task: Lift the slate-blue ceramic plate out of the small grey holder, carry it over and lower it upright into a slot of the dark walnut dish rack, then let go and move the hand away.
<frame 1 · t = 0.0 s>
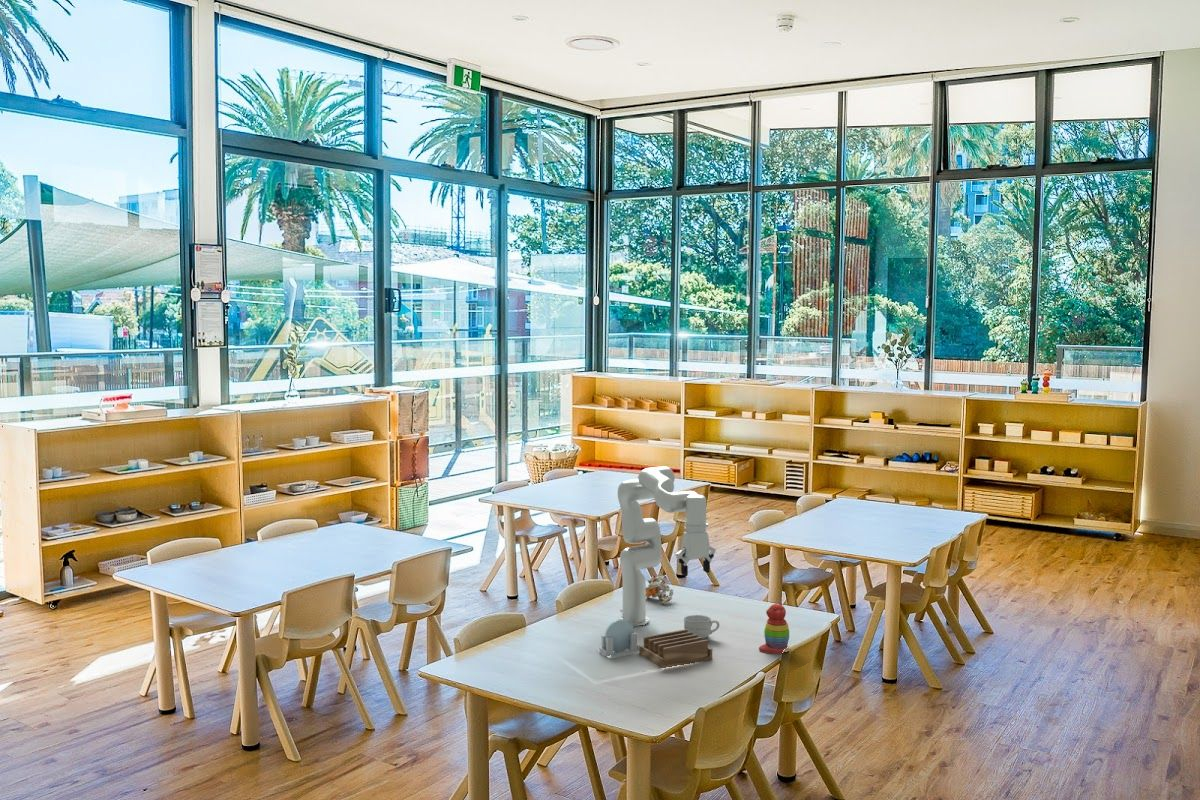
hand: (695, 573, 378), 31 cm above the table, tool pointing down, fingers open, 9 cm apart
plate: (619, 651, 383), point 1 cm above the table, touching holder
teacup: (701, 638, 401), on the table
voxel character: (656, 602, 449), on the table
rack: (675, 657, 378), on the table
holder: (619, 653, 383), on the table
stacking bear: (775, 650, 387), on the table
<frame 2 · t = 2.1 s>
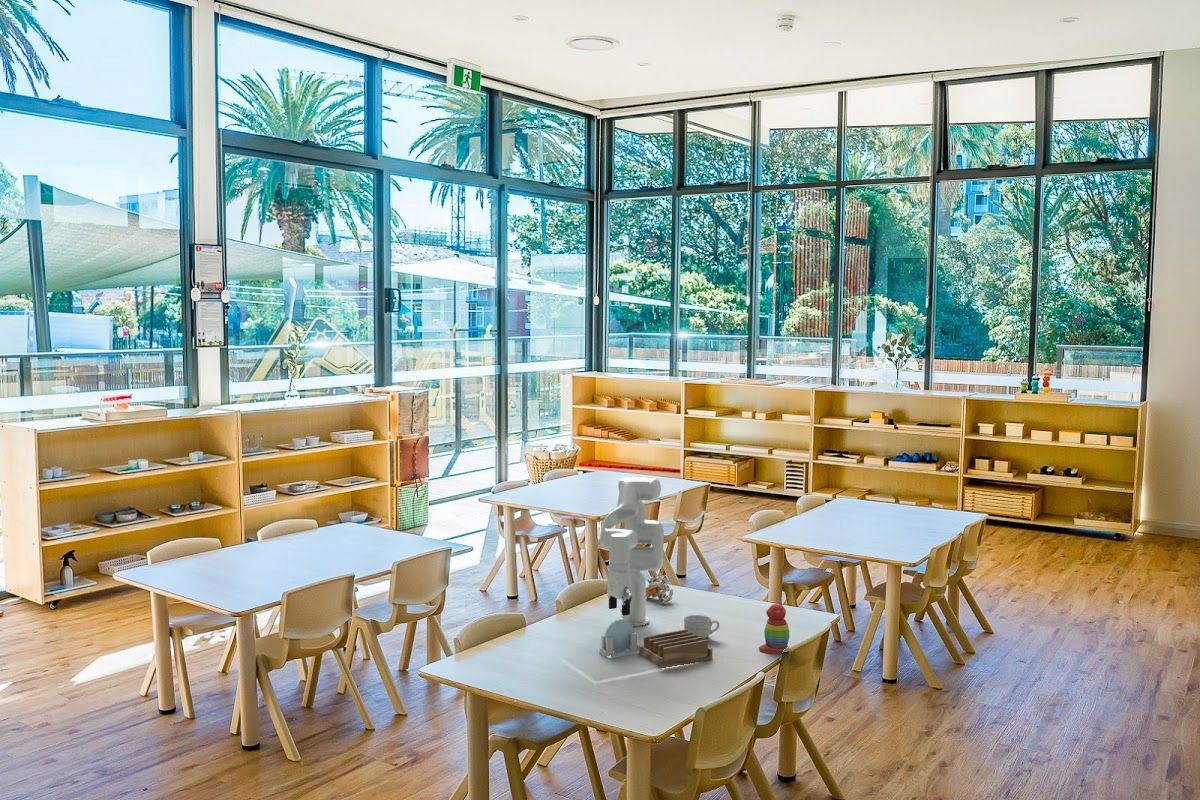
hand: (619, 611, 381), 16 cm above the table, tool pointing down, fingers open, 9 cm apart
nothing on the table moved.
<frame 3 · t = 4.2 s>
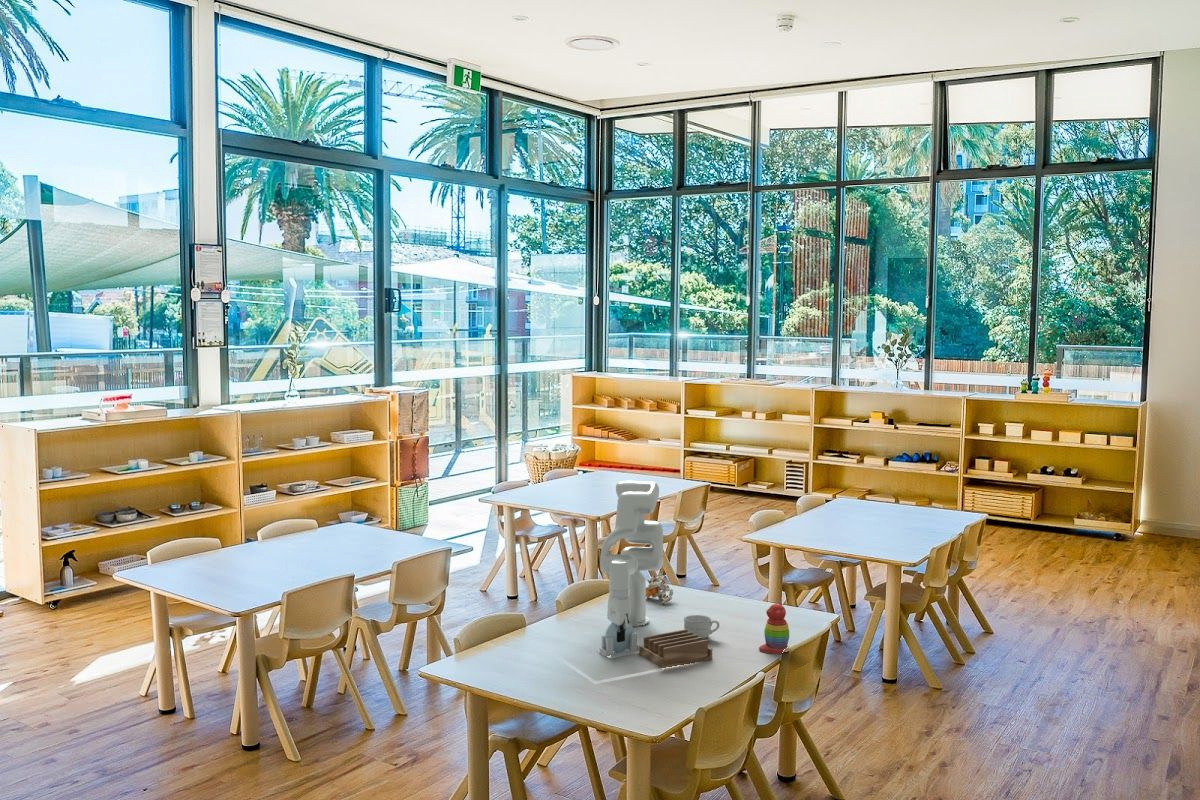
hand: (619, 640, 382), 5 cm above the table, tool pointing down, fingers closed on plate, 1 cm apart
plate: (619, 651, 383), point 1 cm above the table, touching gripper
everything else where it was.
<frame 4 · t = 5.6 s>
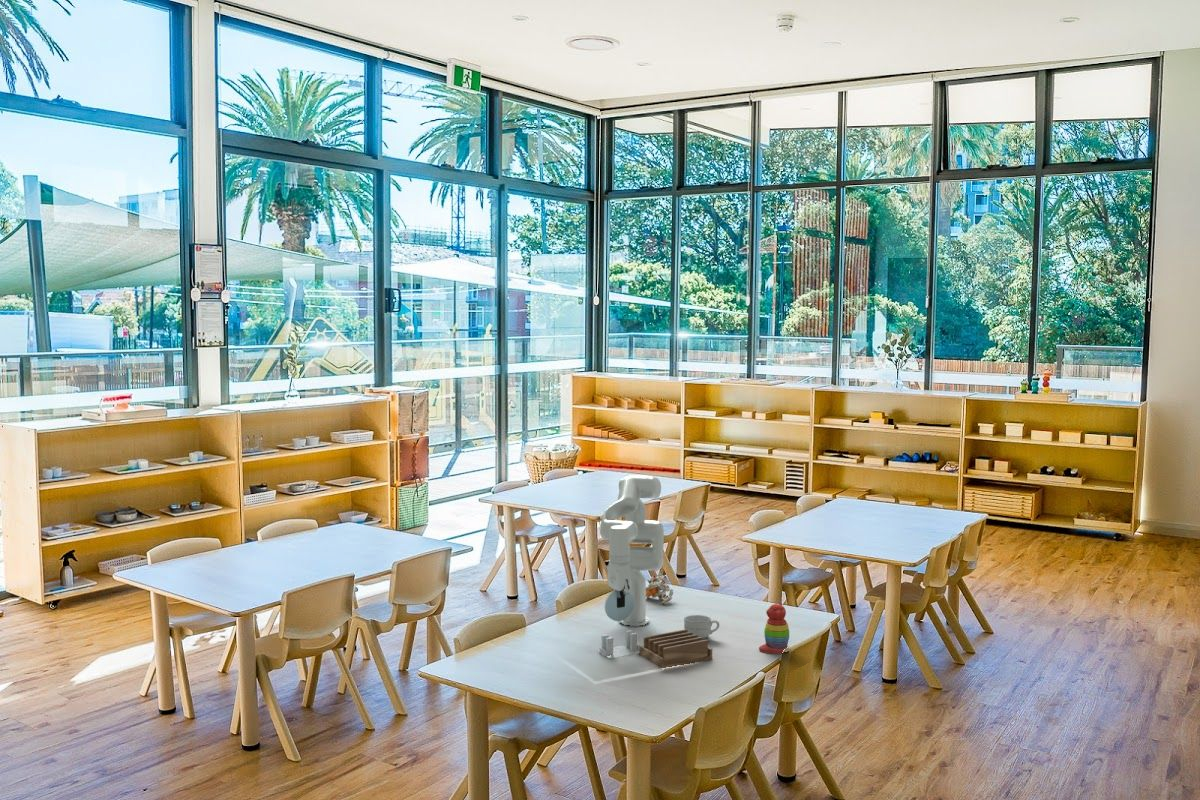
hand: (619, 606, 382), 18 cm above the table, tool pointing down, fingers closed on plate, 1 cm apart
plate: (618, 620, 382), point 13 cm above the table, touching gripper
everything else where it was.
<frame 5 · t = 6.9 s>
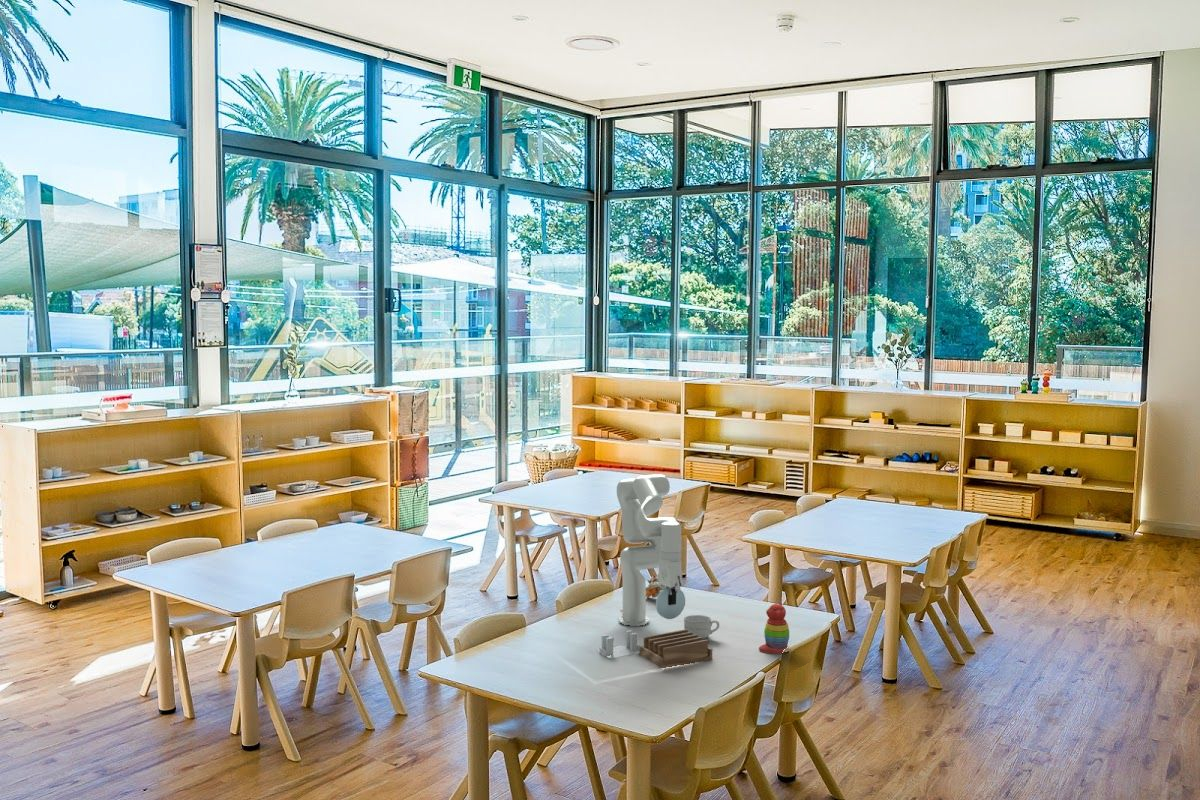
hand: (670, 603, 378), 20 cm above the table, tool pointing down, fingers closed on plate, 1 cm apart
plate: (667, 618, 378), point 15 cm above the table, tilted 12°, touching gripper
everything else where it was.
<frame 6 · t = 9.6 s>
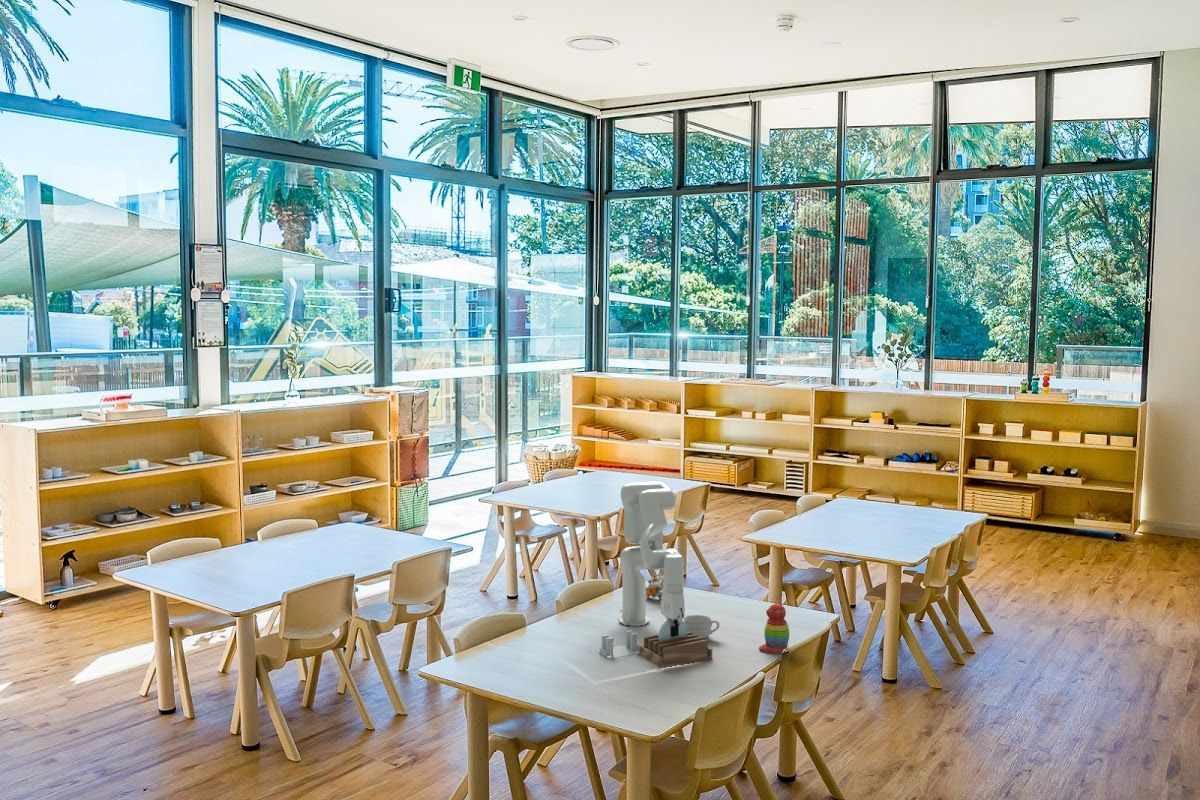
hand: (673, 635, 379), 8 cm above the table, tool pointing down, fingers closed on plate, 1 cm apart
plate: (666, 649, 378), point 3 cm above the table, tilted 31°, touching gripper
everything else where it was.
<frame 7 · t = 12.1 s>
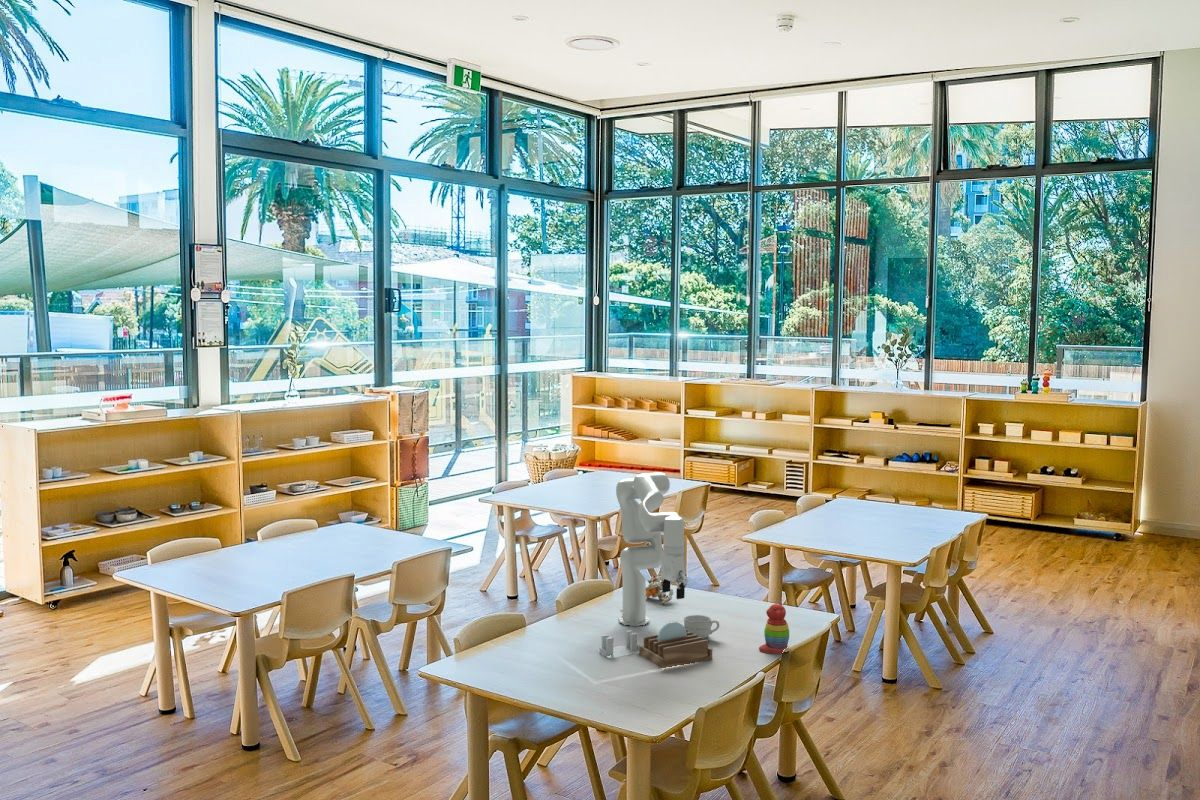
hand: (673, 595, 378), 23 cm above the table, tool pointing down, fingers open, 9 cm apart
plate: (665, 652, 378), point 2 cm above the table, tilted 27°, touching rack
everything else where it was.
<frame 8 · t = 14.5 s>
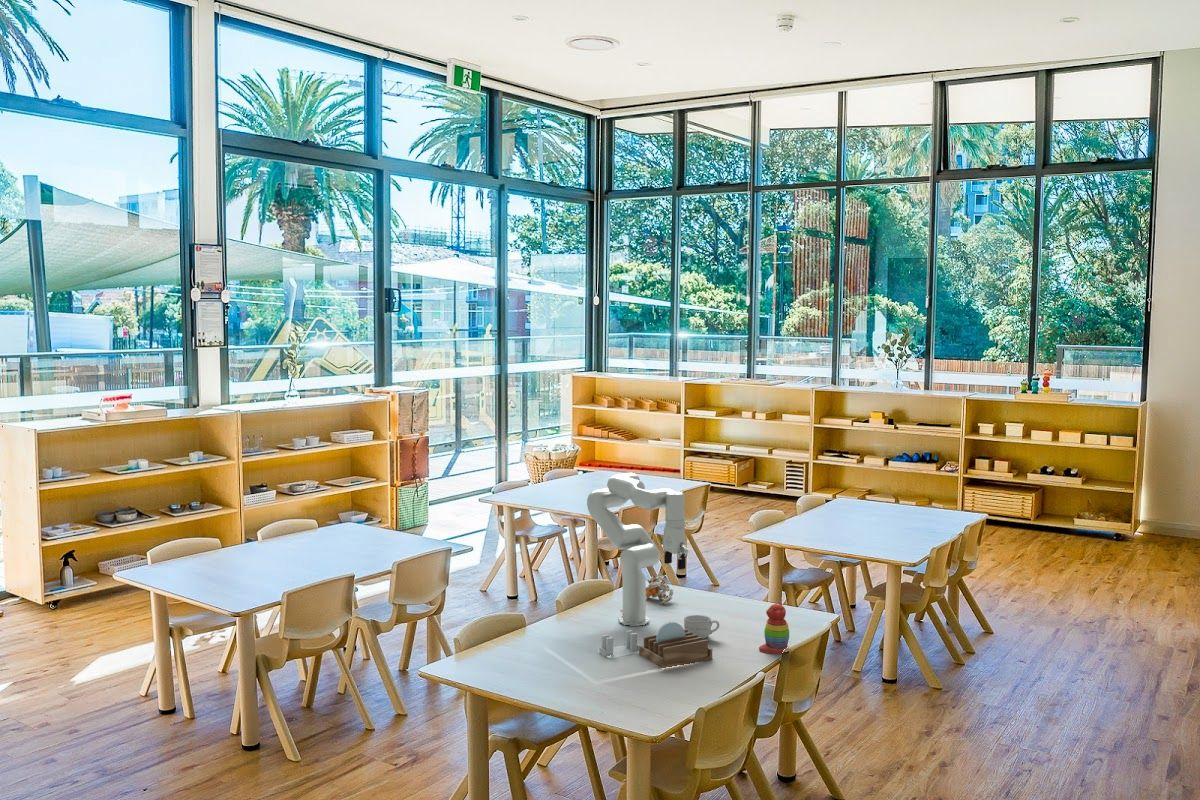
hand: (674, 566, 400), 28 cm above the table, tool pointing down, fingers open, 9 cm apart
plate: (665, 653, 378), point 2 cm above the table, tilted 21°, touching rack
everything else where it was.
at the end: plate inside the target area on the rack (3.2 cm from its centre), point 1.6 cm above the rack's base; plate tilted 21°; the gripper is holding nothing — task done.
